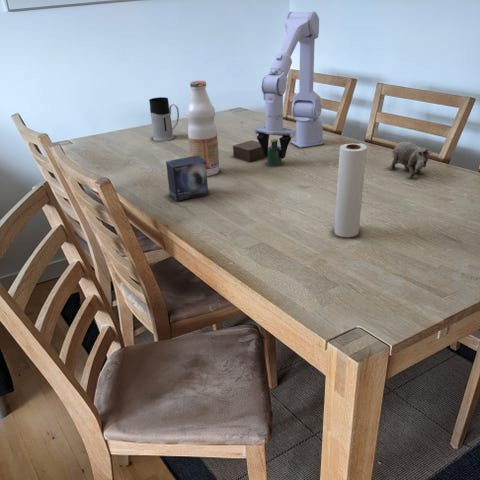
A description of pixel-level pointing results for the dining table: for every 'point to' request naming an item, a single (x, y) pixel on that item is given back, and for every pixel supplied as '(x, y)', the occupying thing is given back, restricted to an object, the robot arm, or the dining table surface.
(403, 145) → the rhinoceros figurine
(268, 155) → the bottle
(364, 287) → the dining table surface
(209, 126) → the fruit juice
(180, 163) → the small box
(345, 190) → the paper towel roll
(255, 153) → the block
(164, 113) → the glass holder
